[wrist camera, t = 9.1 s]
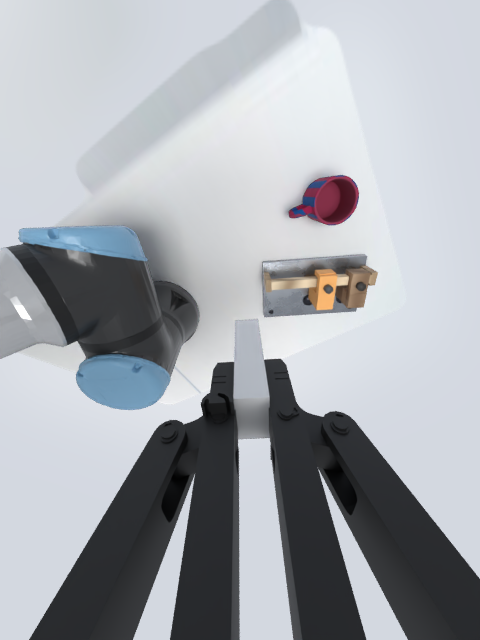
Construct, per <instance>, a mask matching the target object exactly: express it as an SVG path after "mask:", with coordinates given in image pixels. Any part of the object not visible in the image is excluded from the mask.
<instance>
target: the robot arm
mask: <svg viewBox="0 0 480 640" xmlns="http://www.w3.org/2000/svg"><path fill="white" fill-rule="evenodd" d="M19 240H20V242H23V244H21V245H16V246H11V247H6V248H1V249H0V359H1V358H4V357H6V356H9V355H11V354H13V353H16V352H18V351H21V350H23V349H25V348H28V347H30V346H32V345H35V344H37V343H46V344H51V345H56V346H61V347H64V346H67V345H69V344H71V343H73V342H75V341H78V343H79V344H80V346H81V348H82V350H83V352H84V354H85V356H86V359H85V360H84V361H83V362H82V363H81V364H80V365H79V370H78V372H77V374H76V381H77V384H78V386H79V388H80V389H81V391H82V392H83V393H84V394H85V395H87V396H88V397H89V398H90V399H92V400H94V401H96V402H97V403H100V404H102V405H106V406H109V407H112V408H115V409H123V410H135V409H142V408H146V407H148V406H151V405H153V404H154V403H156V402H157V401H158V400H159V399H160V398H161V397H162V395H163V394H164V392H165V390H166V388H167V386H168V385H169V382H170V377H171V374H172V372H173V369H174V366H175V363H176V360H177V358H178V355H179V352H180V349H181V346H182V345H183V343H185V342H186V341H188V340H189V339H190V338H191V337H192V336H193V334H194V333H195V331H196V329H197V325H198V322H199V310H198V307H197V304H196V302H195V300H194V299H193V298H192V296H191V295H190V294H189V293H188V292H187V291H186V290H184V289H183V288H181V287H179V286H177V285H175V284H172V283H169V282H163V281H156V282H153V280H152V277H151V274H150V270H149V267H148V264H147V261H148V259H147V258H146V257H145V255H144V253H143V250H142V247H141V244H140V241H139V239H138V236H137V235H136V233H135V232H134V231H133V230H132V229H130V228H128V227H126V226H74V227H45V228H23V229H20V230H19ZM201 407H202V412H203V416H202V417H200V418H199V419H197V420H195V421H193V422H190V423H187V424H184V425H183V423H182V422H180V421H177V420H170V421H167V422H164V423H163V424H161V425H160V426H159V427H158V428H157V429H156V430H155V431H154V433H153V435H152V437H151V438H150V440H149V441H148V443H147V445H146V446H145V448H144V450H143V452H142V453H141V455H140V456H139V458H138V460H137V462H136V463H135V465H134V466H133V468H132V470H131V471H130V473H129V475H128V477H127V478H126V480H125V481H124V483H123V485H122V486H121V488H120V490H119V491H118V493H117V495H116V496H115V498H114V500H113V501H112V503H111V505H110V506H109V508H108V510H107V511H106V513H105V515H104V516H103V518H102V520H101V521H100V523H99V525H98V526H97V528H96V530H95V532H94V533H93V535H92V536H91V538H90V540H89V541H88V543H87V545H86V546H85V548H84V549H83V551H82V553H81V554H80V556H79V558H78V559H77V561H76V563H75V565H74V566H73V568H72V569H71V571H70V573H69V574H68V576H67V578H66V580H65V581H64V583H63V585H62V586H61V588H60V589H59V591H58V593H57V594H56V596H55V598H54V599H53V601H52V603H51V604H50V606H49V608H48V609H47V611H46V613H45V614H44V616H43V618H42V620H41V621H40V623H39V624H38V626H37V628H36V629H35V631H34V633H33V634H32V636H31V638H30V639H29V640H133V637H134V635H135V632H136V630H137V627H138V624H139V621H140V619H141V616H142V613H143V611H144V608H145V605H146V603H147V600H148V597H149V594H150V592H151V589H152V587H153V584H154V581H155V579H156V576H157V573H158V571H159V568H160V565H161V562H162V560H163V557H164V555H165V552H166V549H167V546H168V544H169V541H170V539H171V536H172V533H173V531H174V528H175V525H176V523H177V520H178V517H179V514H180V512H181V509H182V506H183V504H184V501H185V498H186V496H187V493H188V490H189V488H190V485H191V482H192V480H193V477H194V474H195V478H194V485H193V491H192V498H191V504H190V511H189V518H188V524H187V531H186V538H185V544H184V551H183V558H182V565H181V571H180V577H179V584H178V591H177V597H176V604H175V610H174V617H173V624H172V630H171V637H170V640H239V449H238V439H255V438H270V442H271V460H272V465H273V474H274V481H275V490H276V499H277V507H278V514H279V523H280V532H281V540H282V547H283V556H284V565H285V573H286V581H287V589H288V597H289V606H290V614H291V622H292V630H293V638H294V640H366V637H365V633H364V630H363V626H362V623H361V619H360V615H359V612H358V608H357V605H356V601H355V598H354V594H353V591H352V587H351V584H350V580H349V577H348V573H347V570H346V566H345V562H344V559H343V555H342V552H341V549H340V545H339V541H338V538H337V534H336V531H335V527H334V524H333V520H332V517H331V513H330V510H329V506H328V502H327V499H326V495H325V492H324V488H323V485H322V482H321V478H320V474H319V471H318V469H319V470H320V472H321V474H322V476H323V478H324V480H325V482H326V484H327V486H328V487H329V490H330V491H331V493H332V495H333V497H334V499H335V501H336V503H337V505H338V507H339V509H340V511H341V512H342V514H343V516H344V518H345V520H346V522H347V524H348V526H349V528H350V530H351V531H352V533H353V536H354V537H355V539H356V541H357V543H358V545H359V547H360V549H361V550H362V553H363V554H364V557H365V558H366V560H367V562H368V564H369V566H370V568H371V570H372V572H373V574H374V576H375V578H376V579H377V581H378V583H379V585H380V587H381V589H382V591H383V593H384V595H385V597H386V599H387V601H388V602H389V604H390V606H391V608H392V610H393V612H394V614H395V616H396V618H397V620H398V622H399V623H400V625H401V627H402V629H403V631H404V633H405V635H406V636H407V639H408V640H480V579H479V577H478V576H477V575H476V574H475V572H474V571H473V570H472V569H471V567H470V566H469V565H468V563H467V562H466V561H465V560H464V558H463V557H462V556H461V555H460V553H459V552H458V551H457V550H456V548H455V547H454V546H453V545H452V543H451V542H450V541H449V540H448V538H447V537H446V536H445V534H444V533H443V532H442V531H441V529H440V528H439V527H438V526H437V525H436V523H435V522H434V521H433V520H432V518H431V517H430V516H429V514H428V513H427V512H426V511H425V509H424V508H423V507H422V506H421V504H420V503H419V502H418V501H417V499H416V498H415V497H414V495H413V494H412V493H411V492H410V490H409V489H408V488H407V487H406V485H405V484H404V483H403V482H402V480H401V479H400V478H399V476H398V475H397V474H396V473H395V471H394V470H393V469H392V468H391V466H390V465H389V464H388V463H387V461H386V460H385V459H384V458H383V456H382V455H381V454H380V453H379V451H378V450H377V449H376V447H375V446H374V445H373V444H372V442H371V441H370V440H369V439H368V437H367V436H366V435H365V434H364V432H363V431H362V430H361V429H360V428H359V426H358V425H357V423H356V422H355V421H354V420H353V419H352V418H351V417H350V416H348V415H346V414H344V413H341V412H337V411H335V412H329V413H327V414H325V416H324V417H320V416H317V415H312V414H309V413H307V412H305V411H303V410H302V409H301V408H300V407H299V406H298V404H297V402H296V400H295V396H294V393H293V389H292V385H291V381H290V378H289V374H288V370H287V367H286V364H285V363H284V362H283V361H282V360H281V359H268V360H264V356H263V350H262V343H261V336H260V330H259V323H258V319H251V320H235V353H234V362H225V363H218V364H217V365H216V366H215V368H214V369H213V376H212V384H211V390H210V393H209V394H207V395H206V396H205V397H204V398H203V399H202V402H201Z"/></svg>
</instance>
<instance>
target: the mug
mask: <svg viewBox="0 0 480 640" xmlns="http://www.w3.org/2000/svg"><path fill="white" fill-rule="evenodd" d="M358 199H359V192H358V188H357V185H356V183H355V182H354V181H353V180H352V179H351V178H349V177H347V176H343V175H338V176H331V177H325V178H320V179H317V180H315V181H314V182H313V183H312V184H310V185H309V187H308V188H307V190H306V192H305V194H304V197H303V204H302V205H299V206H297V207H295V208H293V209H291V210H290V211H289V217H290V218H298V217H302V216H305V215H307V216H308V217H309V218H311V219H313V220H316V221H318V222H321V223H323V224H326V225H337V224H340V223H342V222H344V221H346V220H347V219H348V218H349V217H350V216H351V215H352V214H353V212H354V211H355V209H356V206H357V203H358Z"/></svg>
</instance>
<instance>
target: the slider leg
mask: <svg viewBox="0 0 480 640" xmlns="http://www.w3.org/2000/svg"><path fill="white" fill-rule="evenodd" d="M315 275H316V276H317V278H318V280H317V287H311V288H309V296H308V298H309V300H310V301H311V303H312V304H313V306H314V307H315V309H316V310H329V309H333V303H334V297H335V290H336V283H337V276H338V275H336V273H335V272H334V271H333V270H332V269H323V270H315Z"/></svg>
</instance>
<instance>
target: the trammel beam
mask: <svg viewBox="0 0 480 640" xmlns="http://www.w3.org/2000/svg"><path fill="white" fill-rule="evenodd" d="M377 274H378V272H376V271H374V270H373V269H371V268H369V267H368V266H366V265H361V266H360V269H346V273H345V274H336V275H338V276H337V283H336V286H337V288H336V295H335V296H336V297H337V298H338V299H339V300H340V301H341V302H342V303H343V304H344V305H345V306H346V307H347V308H360V307H364V303H365V298H366V294H367V293H366V292H367V288H368V285H369V286H370V285H375V282H376V278H377ZM317 280H318V278H317V276H307V277H292V278H278V279H271V277H270V275H269V272H264V286H265V290H266V293H267V292H272V290H281V289H296V288H311V287H317Z"/></svg>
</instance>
